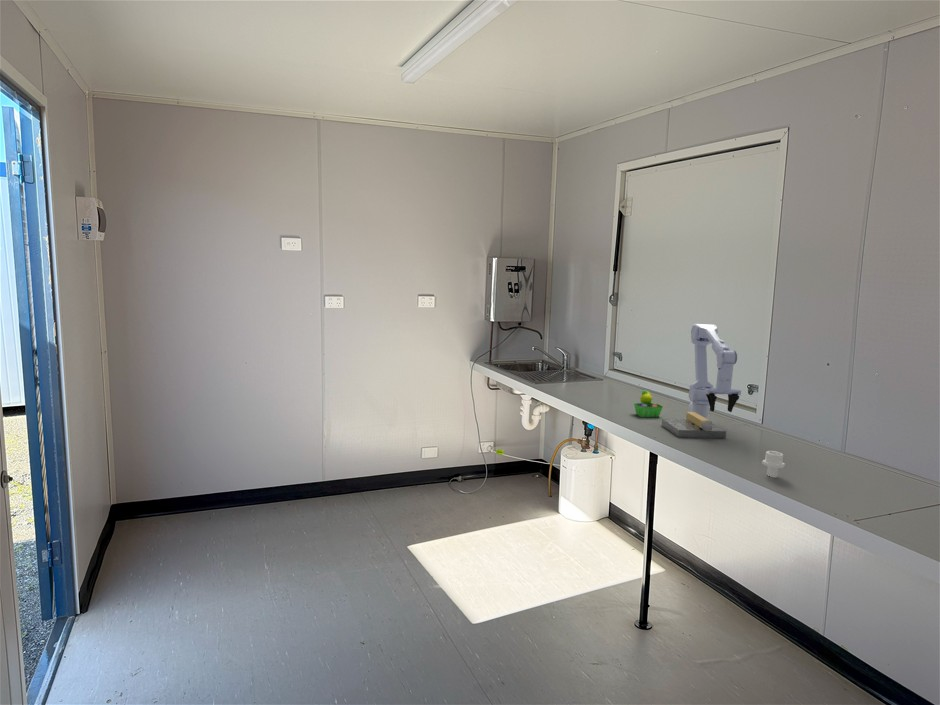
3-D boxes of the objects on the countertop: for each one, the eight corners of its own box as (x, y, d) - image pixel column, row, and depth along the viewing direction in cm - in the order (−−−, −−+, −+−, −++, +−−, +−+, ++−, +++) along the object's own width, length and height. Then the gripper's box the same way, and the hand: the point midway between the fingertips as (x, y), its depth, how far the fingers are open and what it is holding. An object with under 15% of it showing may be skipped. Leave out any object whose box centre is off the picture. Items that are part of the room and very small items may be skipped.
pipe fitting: (758, 475, 213) (761, 452, 212) (765, 471, 218) (768, 448, 217) (778, 480, 209) (781, 457, 207) (785, 476, 214) (788, 453, 213)
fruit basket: (640, 418, 286) (642, 393, 285) (631, 413, 295) (633, 389, 293) (662, 417, 289) (665, 393, 287) (653, 412, 297) (655, 389, 296)
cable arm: (713, 430, 256) (714, 422, 256) (703, 429, 256) (704, 422, 255) (694, 418, 274) (695, 412, 273) (685, 418, 273) (686, 411, 273)
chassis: (661, 425, 274) (662, 417, 274) (705, 426, 276) (706, 418, 275) (678, 437, 256) (679, 429, 255) (726, 438, 258) (727, 430, 257)
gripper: (711, 380, 255) (708, 413, 257) (746, 381, 256) (742, 414, 258) (704, 377, 262) (700, 408, 264) (737, 378, 263) (733, 409, 265)
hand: (720, 411), depth 262 cm, fingers open, 7 cm apart
